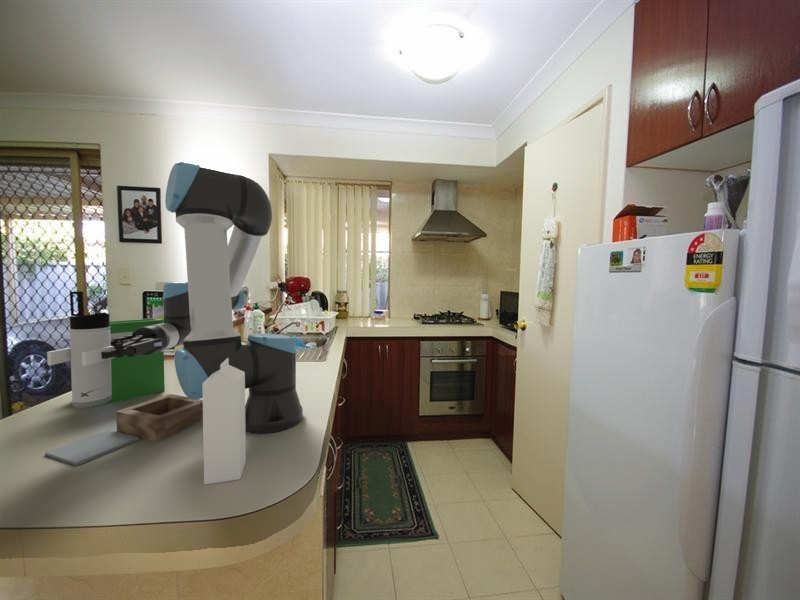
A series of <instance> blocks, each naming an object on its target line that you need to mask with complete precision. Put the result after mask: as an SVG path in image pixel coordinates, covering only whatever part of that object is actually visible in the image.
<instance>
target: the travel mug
mask: <svg viewBox="0 0 800 600" xmlns="http://www.w3.org/2000/svg"><path fill="white" fill-rule="evenodd" d="M110 318H111V317H110V313H107V312H94V314H86V315H85V314H84V315H72V316H69V331H70V332H69V345H70V346H69V348H70V351H71V361H70V373H71V374H70V375H71V380H70V381H71V398H72V399H71V403H72V404H71V405H72V406H73V407H74V408H93V407H92V406H97V405H101V404H104V403H106V402H108V401H110V400H111V399H112V392H111V391H112V381H111V359H109V360H106V361H102V362H98V363H94V364H90V365H87V366H82V352H86V351H91V350H95V349H100V348H104V347H109V346H111V341H110V323H109V322H110V321H111V320H110ZM101 406H102V405H101ZM97 407H98V406H97Z"/></svg>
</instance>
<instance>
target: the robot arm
mask: <svg viewBox="0 0 800 600" xmlns="http://www.w3.org/2000/svg"><path fill="white" fill-rule="evenodd" d="M164 204H165V209H166V211H168V212H170V213H175V222H176V223H177V224H178V225H180V226H181V227H182V228H183V229H184V243H185V244H184V245H185V258H186V259H185V261H186V275H187V281H179V282H178V281H167V282H165V283H164V284H163V289H162V292H163V294H162V295H163V296H162V302H163V303H162V305H163V323H162V324H156V325H151V326H146V327H140V328H138V329H136V330H135V331H134V332H133V333H132V335H127V336H124V337H120V338H112V337H110V341H111V346H109V347H104V348H100V349H95V350H91V351H86V352H82V366H87V365H90V364H94V363H98V362H102V361H106V360H109V359H113V358H115V356H116V357H119V358H121V357H123V356H126V355H127V357H132V356H136V355H139V354H142V355H149V354H153V353H156V352H159V351H161V352H166V350H169V349H172V348H175V347H180V346H182V347H181V348H178V349H177V350H175V353H174V367H175V371H176V372H175V373H176V376H177V380H178V383H179V385H180V388H181V389H182V392H183V394H185V395H184V396H185V397H189V398H190V399H201V400H202V399H203V391H202V383H203V382H204V381H205V380H206V379H207V378H208V377H209V376H211V375H212V374H213V373H215V372H216V371H218V370H220V365H221V363H223V362H224V361H225V360H226V359H227V358H229V365H230V366H233V367H235V368H237V369H239V370H241V371H243V372H245V390H246V389H247V390H248V396H247V399H246V401H245V432H246V431H247V432H250V433H255V434H256V433H257V434H268V433H269V434H271V433H277V432H280V431H284V430H288V429H290V428H292V427H294V426H296V425H298V424H299V423H300V422H301V421H302V420H303V415H304V414H303V409H304V408H303V406H302V405H301V402H300V398H299V395H298V391H297V372H296V371H297V362H296V361H297V347H296V340H295V339H294V337H291V336H289V335H285V334H276V333H259V332H258V333H250V334H249V335H248V337H247V340H244V341H242V336H241V333H240V332H239V331H237V330H236V329H235V328H234V321H233V319H234V318H233V311H236V310H237V311H238V310H241V309H243V307H244V305H245V299H246V297H245V292H244V291H243V289H242V288H243V285H244V283H245V280H246V277H247V276H248V273H249V271H250V267H251V265H252V262H253V260H254V258H255V256H256V252H257V250H258V249H259V245H260V243H261V241H262V238H263V237H265V236H266V235H268V233H269V231H270V228H271V225H272V220H273V210H272V205H271V204H272V203H271V201H270V198H269V196H268V194H267V193H266V191H265V189H264V188H263V186H261V185H260V183H258V182H257V181H255V179H253V178H252V177H249V176H246V175H244V174H239V173H234V172H231V171H228V170H227V171H226V170H222V169H218V168H215V167H211V166H206V165H203V164H201V163H199V162H198V163H193V162H189V161H183V160H179V161H177V162H175V163H174V164H173V166H172V168H171V169H170V172H169V176H168V179H167V184H166V189H165V201H164ZM232 227H233V229H232V231H231V234H230V235H231V236H230V238H229V241H228V230H229V229H231V228H232ZM46 357H47V359H46V361H47V366H54V365H58V364H63V363H66V362H71V351H70V347H64V348H60V349H56V350H55V349H54V350H50V351H47V352H46Z"/></svg>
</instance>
